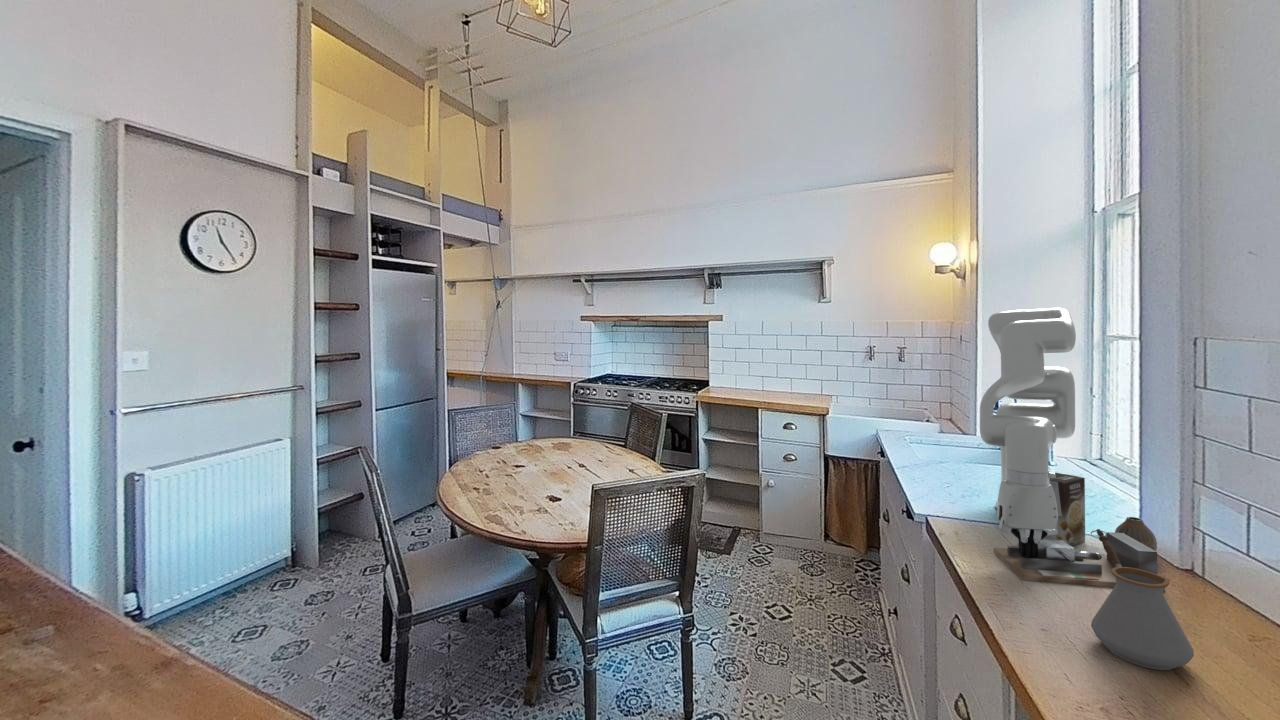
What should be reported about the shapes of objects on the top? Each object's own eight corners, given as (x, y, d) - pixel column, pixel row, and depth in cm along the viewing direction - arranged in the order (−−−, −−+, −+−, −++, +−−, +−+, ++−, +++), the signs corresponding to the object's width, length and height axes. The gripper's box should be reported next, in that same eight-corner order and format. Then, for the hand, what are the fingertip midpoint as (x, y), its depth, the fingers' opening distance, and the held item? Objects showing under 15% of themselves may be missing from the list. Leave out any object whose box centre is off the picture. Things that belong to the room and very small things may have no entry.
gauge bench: (1022, 579, 102) (1021, 547, 102) (993, 551, 116) (993, 523, 115) (1165, 591, 95) (1164, 556, 95) (1117, 560, 109) (1116, 529, 109)
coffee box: (1065, 549, 115) (1064, 482, 115) (1034, 539, 121) (1033, 476, 121) (1086, 541, 119) (1085, 477, 119) (1055, 532, 125) (1054, 471, 124)
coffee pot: (1213, 687, 70) (1212, 585, 69) (1108, 667, 75) (1107, 572, 74) (1139, 611, 89) (1138, 531, 89) (1060, 599, 94) (1058, 524, 94)
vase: (1166, 563, 106) (1165, 524, 106) (1129, 562, 108) (1128, 523, 107) (1140, 550, 113) (1140, 513, 113) (1106, 549, 114) (1105, 512, 114)
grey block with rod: (1058, 576, 101) (1057, 555, 101) (1036, 558, 109) (1036, 538, 109) (1121, 581, 98) (1121, 559, 98) (1094, 562, 106) (1094, 542, 106)
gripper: (1057, 473, 109) (1059, 554, 109) (981, 471, 113) (982, 548, 113) (1077, 483, 101) (1078, 569, 102) (994, 480, 106) (996, 563, 106)
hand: (1028, 558), depth 108 cm, fingers closed
